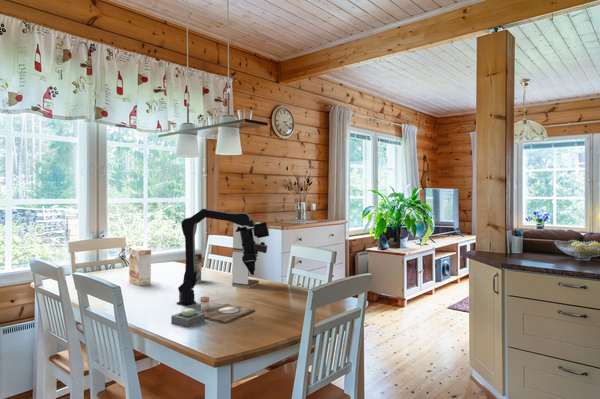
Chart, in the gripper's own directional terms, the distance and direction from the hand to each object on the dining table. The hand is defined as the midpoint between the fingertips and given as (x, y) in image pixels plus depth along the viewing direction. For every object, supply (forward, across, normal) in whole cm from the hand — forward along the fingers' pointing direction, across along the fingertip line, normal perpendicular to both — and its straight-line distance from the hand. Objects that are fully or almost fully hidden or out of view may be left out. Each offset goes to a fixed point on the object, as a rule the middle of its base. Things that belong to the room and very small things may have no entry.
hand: (253, 272), depth 188 cm
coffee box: (+7, +47, +39) cm, 61 cm away
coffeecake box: (+2, +43, +67) cm, 80 cm away
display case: (+13, +39, +9) cm, 42 cm away
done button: (+7, -26, +26) cm, 37 cm away
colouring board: (+12, -14, +13) cm, 23 cm away
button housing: (+10, -26, +27) cm, 38 cm away
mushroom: (+11, -9, +23) cm, 27 cm away
